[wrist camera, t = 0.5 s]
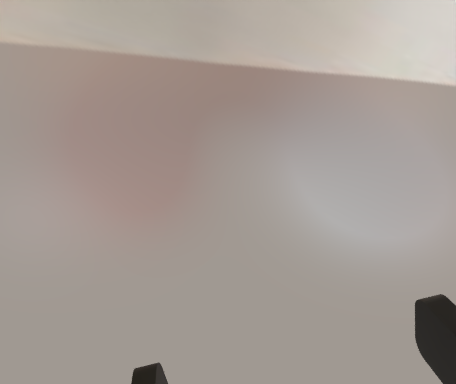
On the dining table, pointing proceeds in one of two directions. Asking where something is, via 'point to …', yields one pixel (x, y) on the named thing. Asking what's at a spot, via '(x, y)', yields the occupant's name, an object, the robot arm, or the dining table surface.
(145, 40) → the dining table surface
